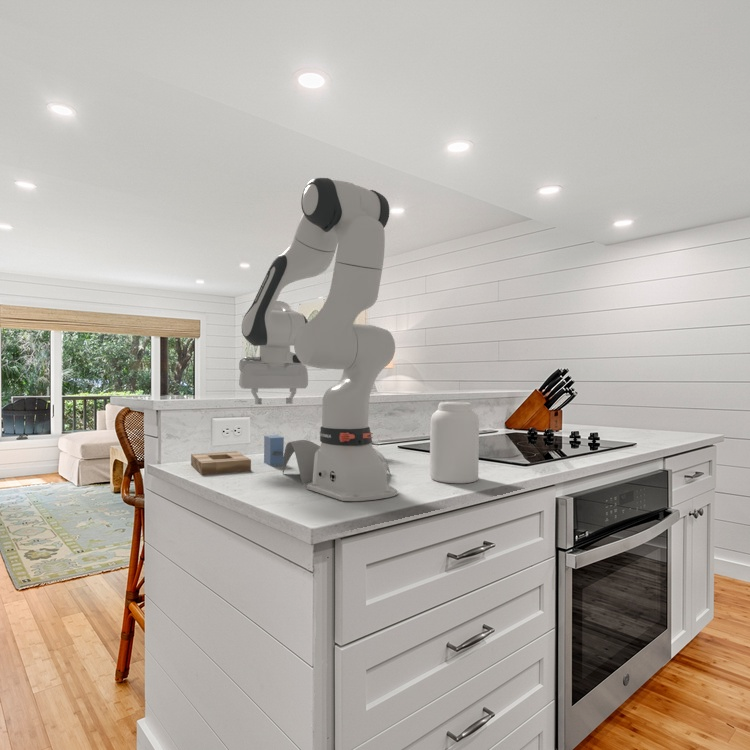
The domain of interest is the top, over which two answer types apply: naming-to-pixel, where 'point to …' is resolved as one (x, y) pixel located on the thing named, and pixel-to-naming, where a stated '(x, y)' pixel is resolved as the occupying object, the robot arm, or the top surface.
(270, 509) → the top surface
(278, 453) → the block
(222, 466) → the wooden base block
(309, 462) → the sculpture
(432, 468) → the white lidded jar
